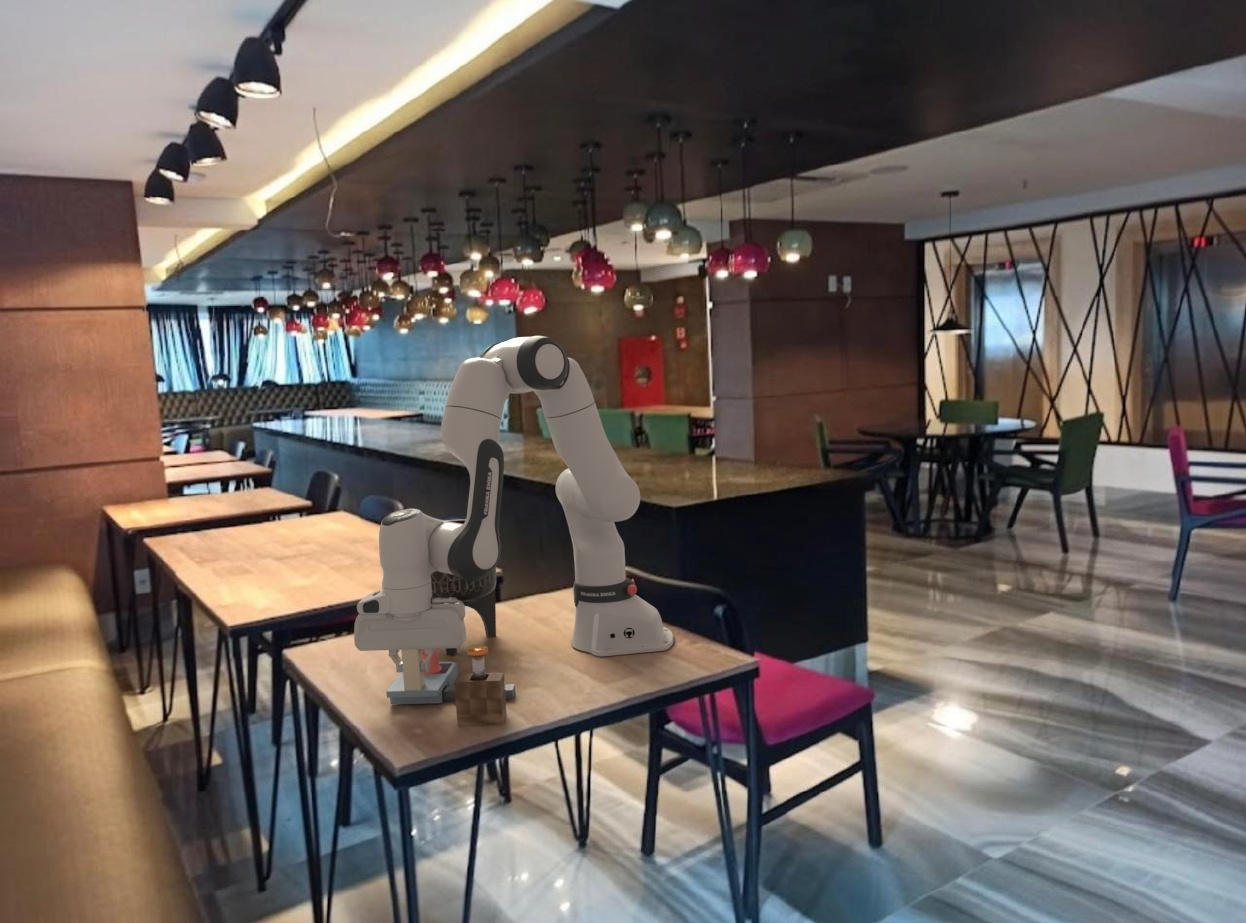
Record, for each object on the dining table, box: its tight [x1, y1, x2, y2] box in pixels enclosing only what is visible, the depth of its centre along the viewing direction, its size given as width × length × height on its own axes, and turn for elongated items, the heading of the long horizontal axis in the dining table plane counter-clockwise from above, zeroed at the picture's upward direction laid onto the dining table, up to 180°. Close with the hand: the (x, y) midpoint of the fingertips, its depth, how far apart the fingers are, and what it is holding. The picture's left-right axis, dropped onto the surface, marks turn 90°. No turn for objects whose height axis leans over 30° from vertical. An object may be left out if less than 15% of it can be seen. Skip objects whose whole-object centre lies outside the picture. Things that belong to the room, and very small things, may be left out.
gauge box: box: [453, 672, 507, 727], centre depth 159 cm, size 8×4×8 cm, turn 88°
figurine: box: [422, 649, 442, 674], centre depth 176 cm, size 5×5×15 cm
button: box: [466, 645, 489, 681], centre depth 158 cm, size 4×4×7 cm
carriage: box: [386, 649, 459, 705], centre depth 173 cm, size 10×16×11 cm, turn 178°
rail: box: [442, 683, 516, 703], centre depth 170 cm, size 22×3×2 cm, turn 88°
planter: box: [431, 518, 497, 656], centre depth 201 cm, size 20×20×26 cm
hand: (413, 671), depth 167 cm, fingers closed on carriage, 3 cm apart
